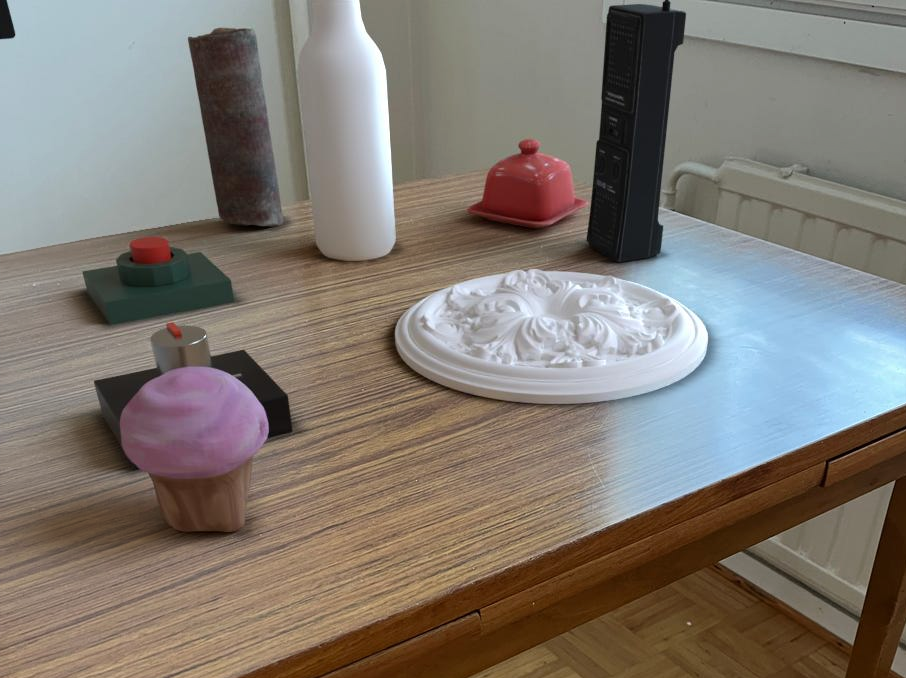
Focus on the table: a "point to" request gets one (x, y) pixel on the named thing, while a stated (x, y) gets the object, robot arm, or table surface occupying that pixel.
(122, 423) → the cupcake
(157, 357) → the dial
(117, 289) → the box
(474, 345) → the ceiling medallion
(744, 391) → the table surface
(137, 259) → the button
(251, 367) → the dial panel
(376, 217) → the white bottle
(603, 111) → the portable radio
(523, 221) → the butter dish
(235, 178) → the candle
